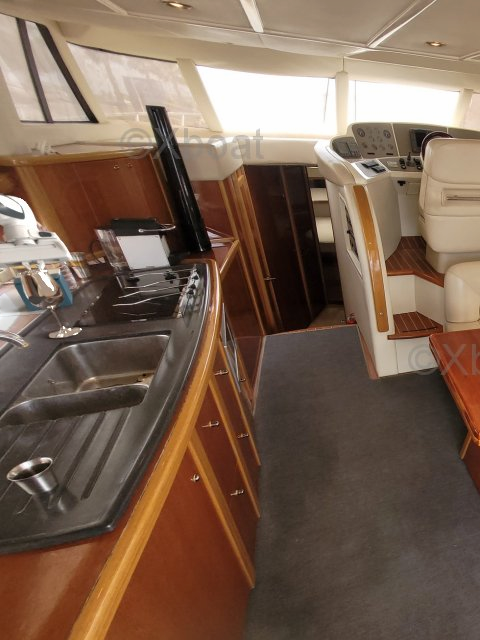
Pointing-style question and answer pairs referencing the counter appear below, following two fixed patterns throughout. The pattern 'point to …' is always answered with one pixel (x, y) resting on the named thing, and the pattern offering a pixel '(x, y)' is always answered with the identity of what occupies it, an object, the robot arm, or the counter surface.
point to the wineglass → (46, 297)
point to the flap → (51, 271)
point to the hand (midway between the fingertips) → (37, 273)
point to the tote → (59, 280)
